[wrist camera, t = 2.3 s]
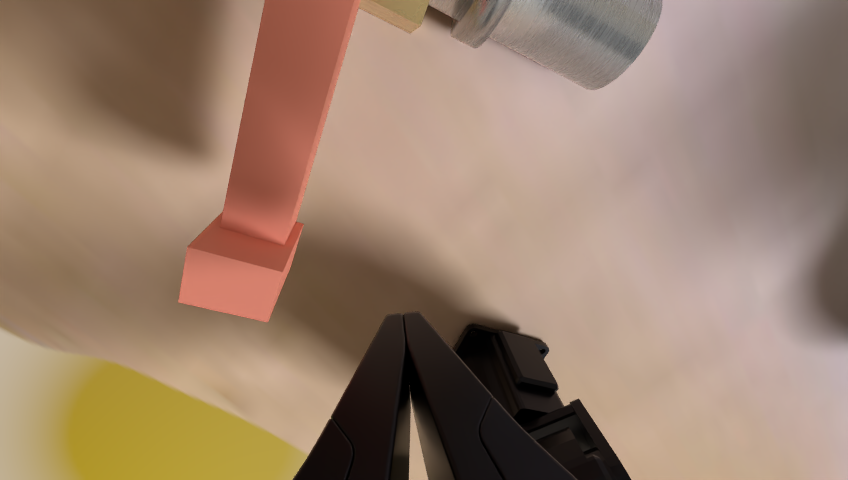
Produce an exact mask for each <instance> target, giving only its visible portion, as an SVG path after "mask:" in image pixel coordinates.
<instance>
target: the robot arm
mask: <svg viewBox="0 0 848 480" xmlns="http://www.w3.org/2000/svg"><path fill="white" fill-rule="evenodd" d="M472 331H475V332H473V333H471V332H472ZM540 349H541V350H540ZM548 352H549V348H548V347H547V345H546V343H544V342H541V341H537V340H533V339H532V338H528V337H525V336H521V335H517V334H513V333H510V332H506V331H499V330H495V329H492V328H488V327H484V326H480V325H477V324H471V325H469V326H467V327H466V329H465V330H464V332H463V334H462V336H461V337H460V339H459V341H458V342H457V344H456V346H455V348H454V349H453V350H452V348H451V347H450V346H449V345H448V344H447V343H446V342H445V340H444V339H443V338H442V337H441V336H440V335H439V334H438V332H437V331H436V330H435V329H434V328H433V327H432V326H431V324H430V323H429V322H428V321H427V320H426V319H425V318H424V316H423V315H422V314H421V313H420V312H407V313H404V315H403V314H401V313H397V314H389V315H387V316H386V317H385V319H384V321H383V323H382V324H381V326H380V328H379V330H378V332H377V334H376V335H375V337H374V339H373V341H372V343H371V344H370V346H369V348H368V350H367V352H366V354H365V355H364V357H363V359H362V361H361V363H360V365H359V366H358V368H357V370H356V372H355V374H354V375H353V377H352V379H351V381H350V383H349V385H348V386H347V388H346V390H345V392H344V394H343V395H342V397H341V399H340V401H339V403H338V405H337V406H336V408H335V410H334V412H333V414H332V415H331V419H329V421H328V422H327V424H326V426H325V428H324V430H323V432H322V433H321V435H320V437H319V439H318V440H317V442H316V444H315V445H314V447H313V449H312V450H311V452H310V454H309V456H308V457H307V459H306V460H305V462H304V463H303V465H302V466H301V468H300V469H299V471H298V472H297V474H296V476H295V477H294V478H293V480H409V448H410V413H411V402H412V407H413V412H414V417H415V421H416V426H417V430H418V435H419V439H420V444H421V448H422V453H423V457H424V462H425V466H426V471H427V475H428V480H631V478H630V477H629V475H628V473H627V472H626V470H625V468H624V467H623V465H622V463H621V462H620V460H619V459H618V457H617V456H616V454H615V453H614V451H613V450H612V448H611V447H610V445H609V443H608V442H607V440H606V439H605V437H604V436H603V434H602V433H601V431H600V430H599V428H598V427H597V425H596V424H595V422H594V421H593V419H592V418H591V416H590V415H589V413H588V412H587V410H586V409H585V407H584V406H583V404H582V403H581V401H580V400H579V399H577V400H574V401H572V402H570V404H569V405H567V406H564V405H563V404H562V402H561V400H560V398H559V396H558V394H557V392H556V391H557V390H558V385H557V382H556V380H555V379H554V377H553V375H552V373H551V371H550V370H549V368H548V366H547V364H546V363H545V361H544V358H545V356H546V355H547V354H548ZM409 385H410V386H409ZM410 395H411V401H410Z"/></svg>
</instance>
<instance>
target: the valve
mask: <svg viewBox="0 0 848 480" xmlns="http://www.w3.org/2000/svg"><path fill="white" fill-rule="evenodd" d="M428 5H429V6H431V7H433V8H435V9H437V10H439V11H441V12H443V13H445V14H446V15H448V16H450V17H452V18H453V21H452V26H451V36H452V37H453V38H455V39H457V40H459V41H461V42H463V43H465V44H467V45H469V46H471V47H473V48H477V47H479V46H480V45H482V44H483V43H484V42H485V41H486V39H487V38H488V37H490V38H492V39H493V40H495V41H497V42H499V43H501V44H503V45H505V46H507V47H508V48H510V49H512V50H514V51H516V52H518V53H520V54H522V55H524V56H525V57H527V58H529V59H531V60H533V61H535V62H537V63H539V64H540V65H542V66H544V67H546V68H548V69H550V70H552V71H554V72H556V73H557V74H559V75H561V76H563V77H565V78H567V79H569V80H571V81H572V82H574V83H576V84H578V85H580V86H582V87H584V88H586V89H588V90H596V89H599V88H602V87H604V86H606V85H607V84H609V83H611V82H612V81H613V80H615V79H616V78H617V77H619V76H620V75H621V74H622V73H623V72H624V71H625V70H626V69H627V68H628V67H629V66H630V65H631V64H632V63H633V62H634V60H635V59H636V58H637V57H638V55H639V54H640V53H641V51H642V50H643V49H644V47H645V46H646V44H647V43H648V41H649V39H650V38H651V36H652V34H653V32H654V30H655V28H656V26H657V23H658V21H659V18H660V14H661V10H662V0H361V1H360V4H359V8H360V9H362V10H364V11H366V12H368V13H370V14H372V15H374V16H376V17H378V18H380V19H382V20H384V21H386V22H388V23H390V24H392V25H394V26H396V27H398V28H400V29H402V30H404V31H406V32H408V33H412V32H413V31H414V30H416V29H417V28H418V27H420V26H421V23H422V21H423V18H424V15H425V12H426V9H427V7H428Z"/></svg>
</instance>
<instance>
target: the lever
mask: <svg viewBox="0 0 848 480" xmlns="http://www.w3.org/2000/svg"><path fill="white" fill-rule="evenodd" d="M360 1H361V0H265V3H264V8H263V13H262V18H261V23H260V28H259V33H258V38H257V43H256V48H255V53H254V58H253V63H252V68H251V73H250V78H249V83H248V88H247V93H246V98H245V104H244V109H243V114H242V119H241V124H240V129H239V134H238V139H237V144H236V149H235V154H234V159H233V164H232V169H231V174H230V179H229V184H228V189H227V194H226V199H225V204H224V209H223V212H222V213H221V214H220V215H219V216H218V217H217V218H216V219H215V220H214V221H213V222H212V223H211V224H210V225H209V226H208V227H207V228H206V229H205V230H204V231H203V232H202V233H201V234H200V235H199V236H198V237H197V238H196V239H195V240H194V241H193V242H192V243H191V244H190V245H189V246H188V247H187V252H186V258H185V264H184V270H183V276H182V282H181V289H180V295H179V301H178V302H179V303H184V304H188V305H193V306H197V307H201V308H206V309H210V310H215V311H219V312H224V313H228V314H233V315H237V316H241V317H246V318H250V319H255V320H259V321H264V322H268V321H269V318H270V316H271V314H272V311H273V309H274V306H275V304H276V301H277V299H278V297H279V294H280V292H281V289H282V287H283V284H284V282H285V279H286V277H287V275H288V272H289V270H290V267H291V265H292V261H293V258H294V255H295V251H296V248H297V245H298V241H299V238H300V235H301V232H302V228H303V225H304V224H302V223H299V222H296V220H297V216H298V213H299V209H300V206H301V203H302V199H303V196H304V192H305V189H306V185H307V182H308V179H309V175H310V172H311V168H312V165H313V162H314V158H315V155H316V151H317V148H318V144H319V141H320V138H321V134H322V131H323V127H324V124H325V121H326V117H327V114H328V110H329V107H330V103H331V100H332V97H333V93H334V90H335V86H336V83H337V80H338V76H339V73H340V69H341V66H342V62H343V59H344V56H345V52H346V49H347V45H348V42H349V38H350V35H351V32H352V28H353V25H354V21H355V18H356V15H357V11H358V8H359V4H360Z"/></svg>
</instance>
